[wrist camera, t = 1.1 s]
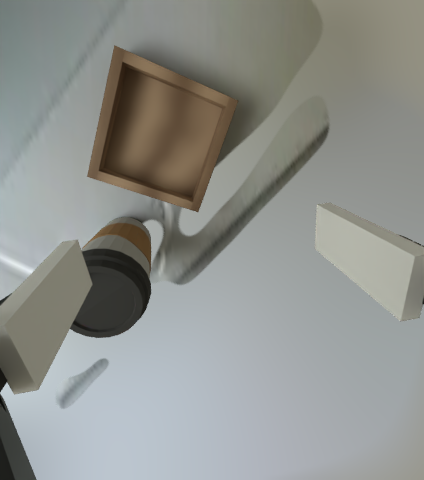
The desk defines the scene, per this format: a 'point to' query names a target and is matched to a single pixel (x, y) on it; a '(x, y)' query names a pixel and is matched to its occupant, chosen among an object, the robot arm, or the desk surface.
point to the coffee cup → (115, 279)
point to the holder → (158, 131)
